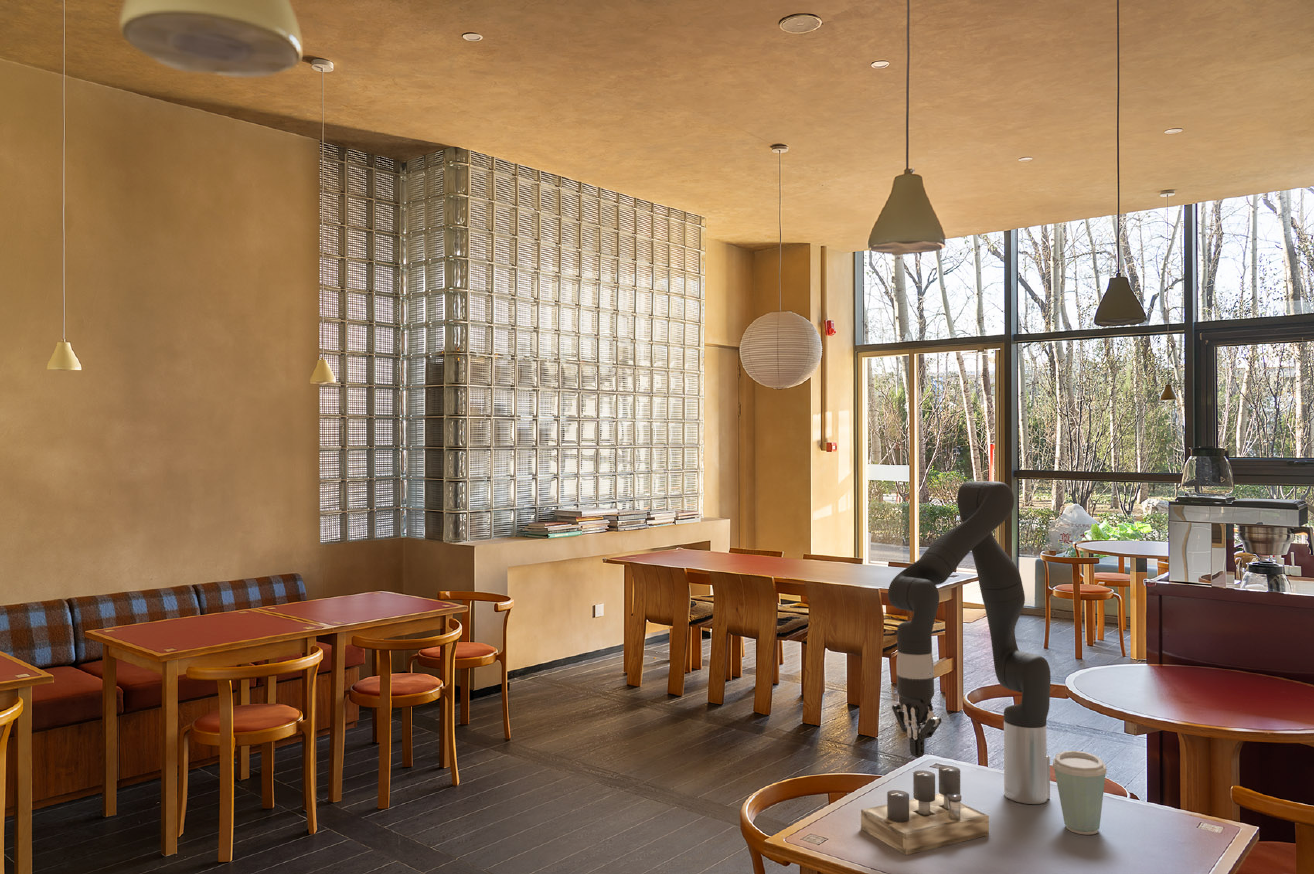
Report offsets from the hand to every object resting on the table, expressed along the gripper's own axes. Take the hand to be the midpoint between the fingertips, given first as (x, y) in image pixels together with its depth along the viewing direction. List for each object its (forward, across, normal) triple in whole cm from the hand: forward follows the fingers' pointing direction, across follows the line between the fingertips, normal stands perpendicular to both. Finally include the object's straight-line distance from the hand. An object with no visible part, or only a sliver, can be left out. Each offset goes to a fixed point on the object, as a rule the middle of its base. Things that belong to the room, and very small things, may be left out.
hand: (917, 755), depth 189 cm
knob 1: (+15, 0, +6) cm, 16 cm away
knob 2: (+12, 0, -8) cm, 15 cm away
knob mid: (+12, 0, -2) cm, 12 cm away
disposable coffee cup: (+17, -13, -32) cm, 39 cm away
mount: (+16, 0, -1) cm, 16 cm away
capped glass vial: (+12, -5, -5) cm, 14 cm away
